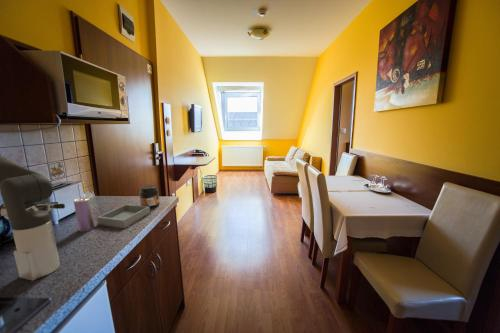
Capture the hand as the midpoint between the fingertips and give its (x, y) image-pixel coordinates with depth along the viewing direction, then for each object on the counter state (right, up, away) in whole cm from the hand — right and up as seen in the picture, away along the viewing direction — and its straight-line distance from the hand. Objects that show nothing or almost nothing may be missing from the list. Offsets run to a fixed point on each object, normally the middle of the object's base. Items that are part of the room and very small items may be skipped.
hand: (57, 209), depth 101 cm
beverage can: (+11, -10, +3) cm, 15 cm away
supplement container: (+29, -4, +32) cm, 43 cm away
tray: (+24, -8, +14) cm, 28 cm away
